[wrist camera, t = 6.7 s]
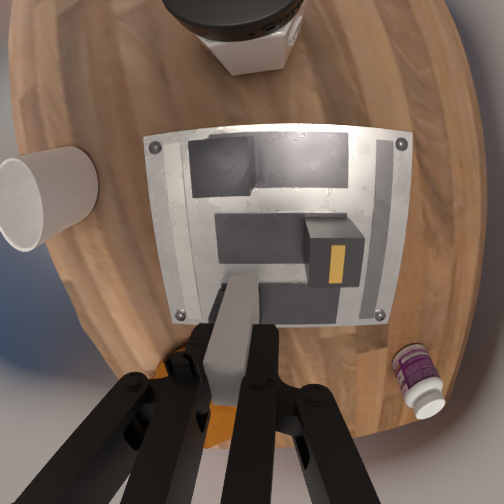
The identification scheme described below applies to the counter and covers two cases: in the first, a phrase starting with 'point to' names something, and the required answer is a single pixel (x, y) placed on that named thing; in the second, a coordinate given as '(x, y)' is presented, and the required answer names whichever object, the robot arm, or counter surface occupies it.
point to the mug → (45, 194)
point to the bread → (219, 419)
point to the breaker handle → (332, 252)
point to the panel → (277, 216)
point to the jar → (243, 30)
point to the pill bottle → (419, 381)
